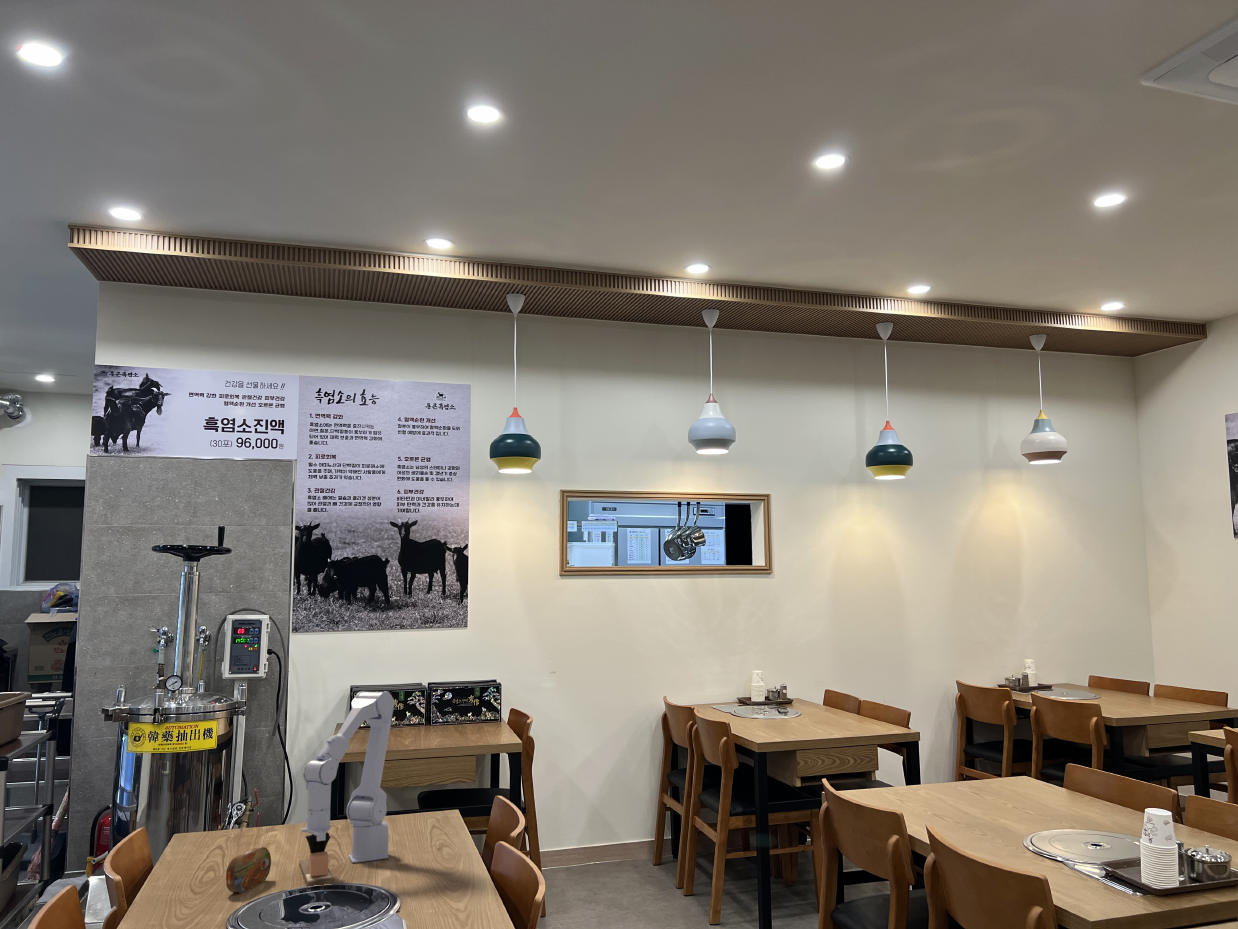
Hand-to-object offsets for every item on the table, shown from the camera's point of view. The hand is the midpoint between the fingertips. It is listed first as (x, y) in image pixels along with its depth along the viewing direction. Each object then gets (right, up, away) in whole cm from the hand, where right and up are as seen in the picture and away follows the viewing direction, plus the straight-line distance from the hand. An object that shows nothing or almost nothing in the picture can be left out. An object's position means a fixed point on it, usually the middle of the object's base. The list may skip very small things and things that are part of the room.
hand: (316, 865), depth 218 cm
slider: (+2, 0, -4) cm, 4 cm away
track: (-1, -3, +1) cm, 3 cm away
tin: (-14, -2, -8) cm, 16 cm away
